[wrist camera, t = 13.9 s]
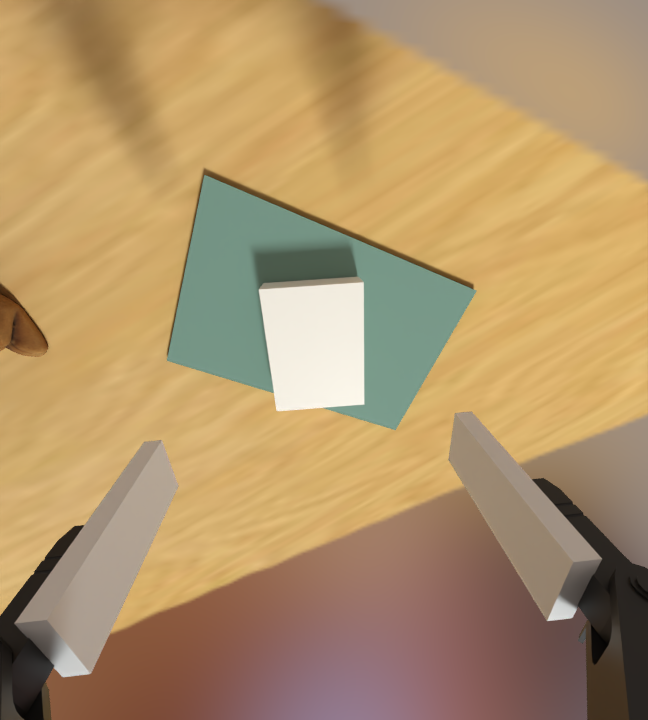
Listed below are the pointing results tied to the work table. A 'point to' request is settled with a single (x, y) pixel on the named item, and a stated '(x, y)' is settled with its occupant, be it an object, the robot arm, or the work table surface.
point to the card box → (315, 341)
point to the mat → (295, 263)
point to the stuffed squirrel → (19, 330)
